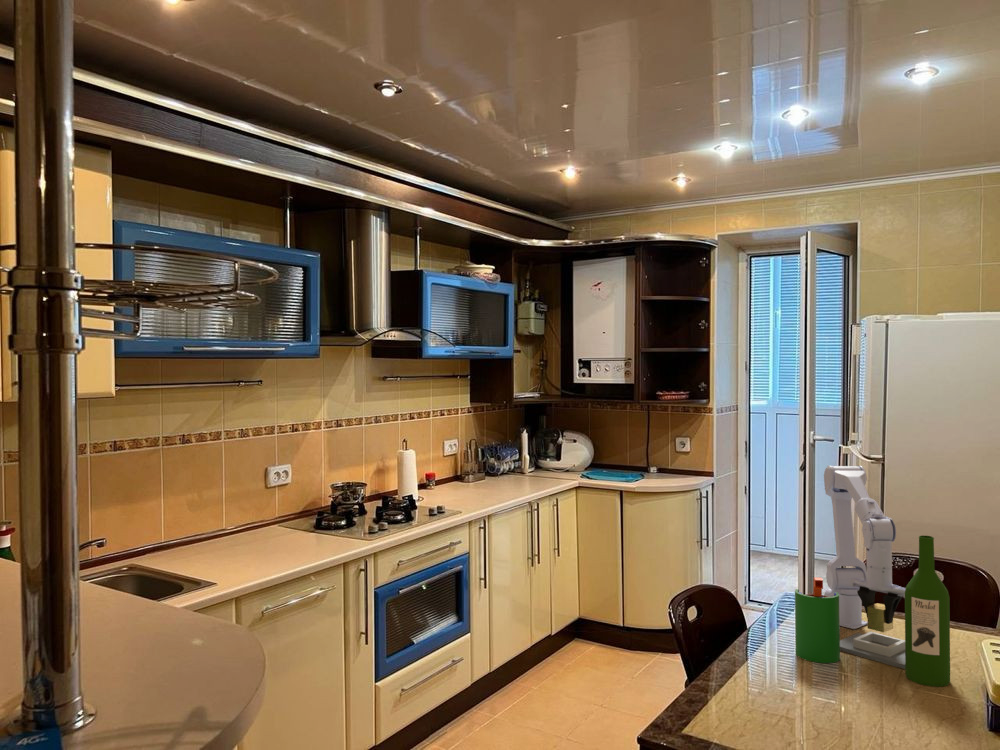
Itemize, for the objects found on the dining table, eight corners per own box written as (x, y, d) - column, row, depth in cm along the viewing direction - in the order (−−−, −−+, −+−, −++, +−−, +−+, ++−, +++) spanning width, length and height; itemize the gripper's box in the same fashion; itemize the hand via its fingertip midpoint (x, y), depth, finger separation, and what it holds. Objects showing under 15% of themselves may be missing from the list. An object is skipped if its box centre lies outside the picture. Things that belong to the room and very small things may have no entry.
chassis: (831, 648, 193) (831, 636, 193) (858, 636, 202) (858, 625, 202) (904, 669, 179) (904, 656, 179) (930, 655, 188) (930, 643, 188)
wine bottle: (905, 682, 171) (904, 538, 171) (905, 669, 179) (904, 531, 179) (951, 690, 167) (950, 542, 167) (949, 675, 175) (947, 534, 175)
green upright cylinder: (833, 650, 191) (832, 571, 192) (846, 664, 183) (845, 581, 183) (792, 649, 192) (791, 570, 193) (802, 662, 184) (801, 580, 184)
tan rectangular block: (867, 628, 191) (867, 606, 191) (877, 624, 194) (877, 603, 194) (883, 632, 188) (883, 610, 188) (893, 628, 191) (893, 606, 191)
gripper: (843, 563, 194) (843, 616, 194) (901, 574, 182) (902, 631, 182) (856, 559, 198) (857, 611, 198) (914, 570, 187) (915, 625, 187)
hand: (879, 620), depth 191 cm, fingers closed on tan rectangular block, 4 cm apart
